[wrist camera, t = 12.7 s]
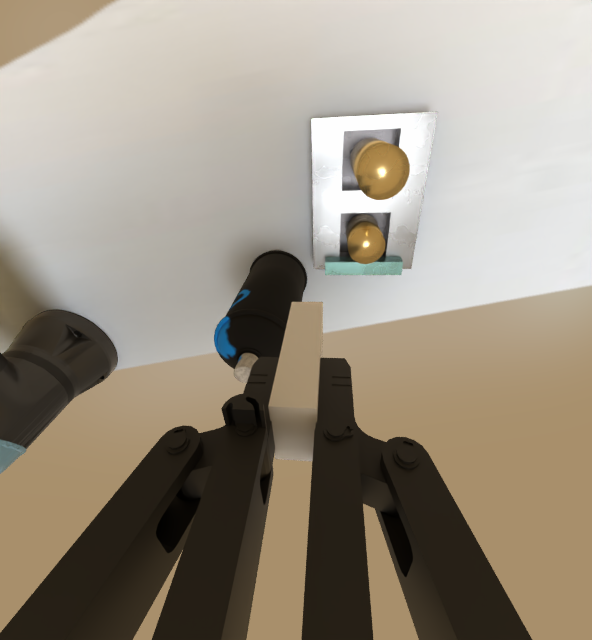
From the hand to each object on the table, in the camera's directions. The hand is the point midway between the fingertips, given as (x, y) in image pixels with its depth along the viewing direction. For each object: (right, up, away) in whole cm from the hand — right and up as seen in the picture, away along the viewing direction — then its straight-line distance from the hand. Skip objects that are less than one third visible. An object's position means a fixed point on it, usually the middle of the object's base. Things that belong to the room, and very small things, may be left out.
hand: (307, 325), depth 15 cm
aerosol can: (-3, +6, +28) cm, 29 cm away
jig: (+8, +15, +21) cm, 27 cm away
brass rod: (+7, +18, +19) cm, 27 cm away
